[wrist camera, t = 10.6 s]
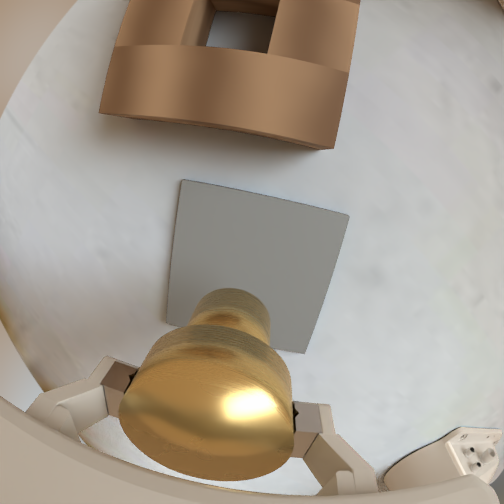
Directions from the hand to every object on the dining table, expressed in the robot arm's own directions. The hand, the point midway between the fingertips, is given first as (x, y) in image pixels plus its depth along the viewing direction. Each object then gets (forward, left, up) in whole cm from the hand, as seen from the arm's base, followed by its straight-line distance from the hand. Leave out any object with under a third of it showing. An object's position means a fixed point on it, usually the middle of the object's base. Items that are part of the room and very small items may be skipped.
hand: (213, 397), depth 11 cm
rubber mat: (0, 0, -13) cm, 13 cm away
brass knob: (0, 0, -6) cm, 6 cm away
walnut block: (+4, -17, -13) cm, 22 cm away
